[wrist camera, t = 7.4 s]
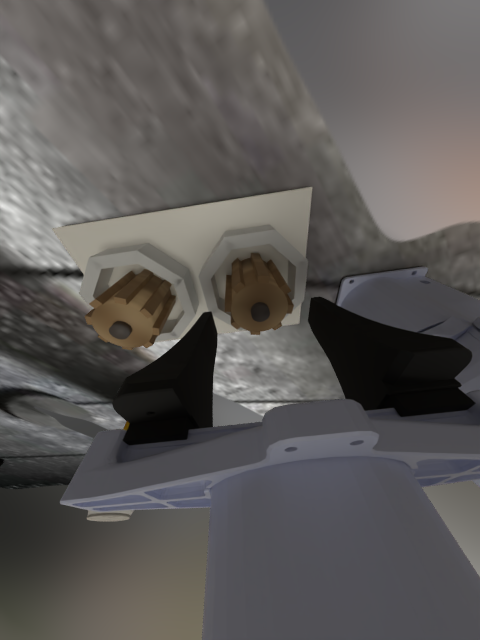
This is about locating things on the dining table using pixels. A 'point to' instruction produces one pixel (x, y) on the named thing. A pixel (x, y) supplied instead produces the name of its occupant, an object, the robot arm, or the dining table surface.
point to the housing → (196, 252)
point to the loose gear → (256, 295)
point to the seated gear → (132, 310)
